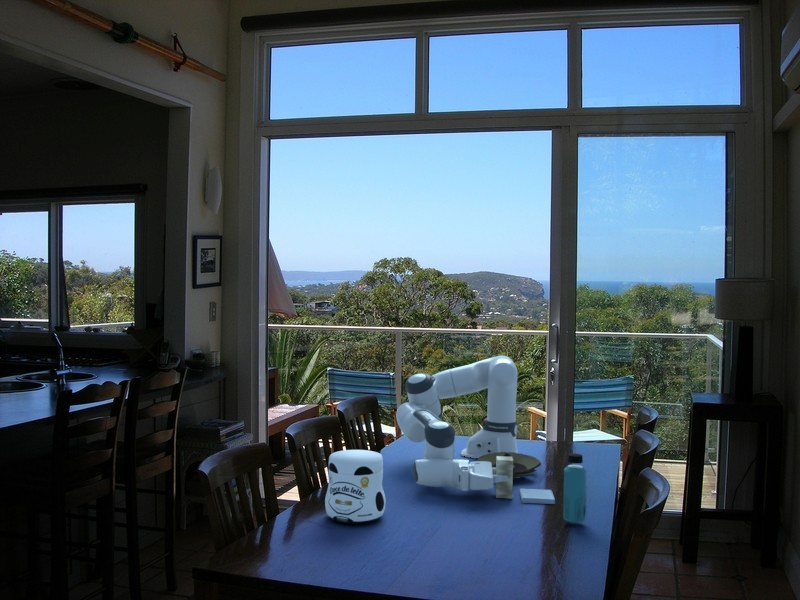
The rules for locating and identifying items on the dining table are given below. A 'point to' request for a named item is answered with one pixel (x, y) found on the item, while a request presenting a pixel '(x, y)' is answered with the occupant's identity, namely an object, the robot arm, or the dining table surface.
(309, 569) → the dining table surface
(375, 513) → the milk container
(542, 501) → the white square slab
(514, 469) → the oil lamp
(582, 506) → the beverage bottle
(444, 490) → the dining table surface
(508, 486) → the maple block
